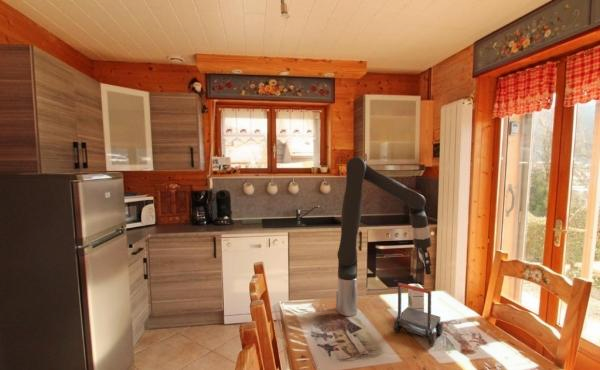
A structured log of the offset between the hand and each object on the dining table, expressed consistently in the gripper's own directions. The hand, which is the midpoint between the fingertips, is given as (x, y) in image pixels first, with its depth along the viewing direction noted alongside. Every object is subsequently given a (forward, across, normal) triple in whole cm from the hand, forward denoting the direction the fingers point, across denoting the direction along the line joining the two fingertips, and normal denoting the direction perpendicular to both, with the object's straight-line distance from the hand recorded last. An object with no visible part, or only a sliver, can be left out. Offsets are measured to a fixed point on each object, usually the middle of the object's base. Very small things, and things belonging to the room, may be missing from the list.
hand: (426, 271), depth 136 cm
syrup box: (+22, -2, -7) cm, 23 cm away
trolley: (+21, +13, -9) cm, 27 cm away
